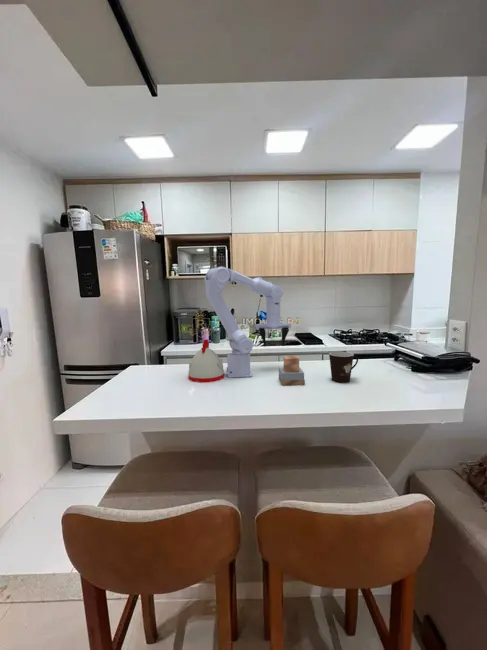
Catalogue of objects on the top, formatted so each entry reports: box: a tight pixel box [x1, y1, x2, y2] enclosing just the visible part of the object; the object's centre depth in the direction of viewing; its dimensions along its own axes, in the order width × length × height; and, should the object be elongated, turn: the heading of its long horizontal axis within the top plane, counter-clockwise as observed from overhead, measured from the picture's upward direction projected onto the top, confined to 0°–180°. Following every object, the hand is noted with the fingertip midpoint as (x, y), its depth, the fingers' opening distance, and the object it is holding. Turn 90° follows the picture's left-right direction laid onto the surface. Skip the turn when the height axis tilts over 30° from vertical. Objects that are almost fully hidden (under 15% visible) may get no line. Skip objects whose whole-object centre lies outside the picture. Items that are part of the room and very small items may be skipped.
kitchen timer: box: [187, 339, 225, 383], centre depth 120 cm, size 14×14×15 cm
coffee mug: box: [328, 351, 359, 384], centre depth 113 cm, size 12×9×10 cm
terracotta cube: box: [283, 355, 300, 372], centre depth 112 cm, size 5×5×5 cm
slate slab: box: [278, 366, 305, 380], centre depth 113 cm, size 8×8×2 cm
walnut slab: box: [278, 374, 306, 387], centre depth 113 cm, size 8×8×2 cm
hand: (273, 345), depth 129 cm, fingers open, 7 cm apart
